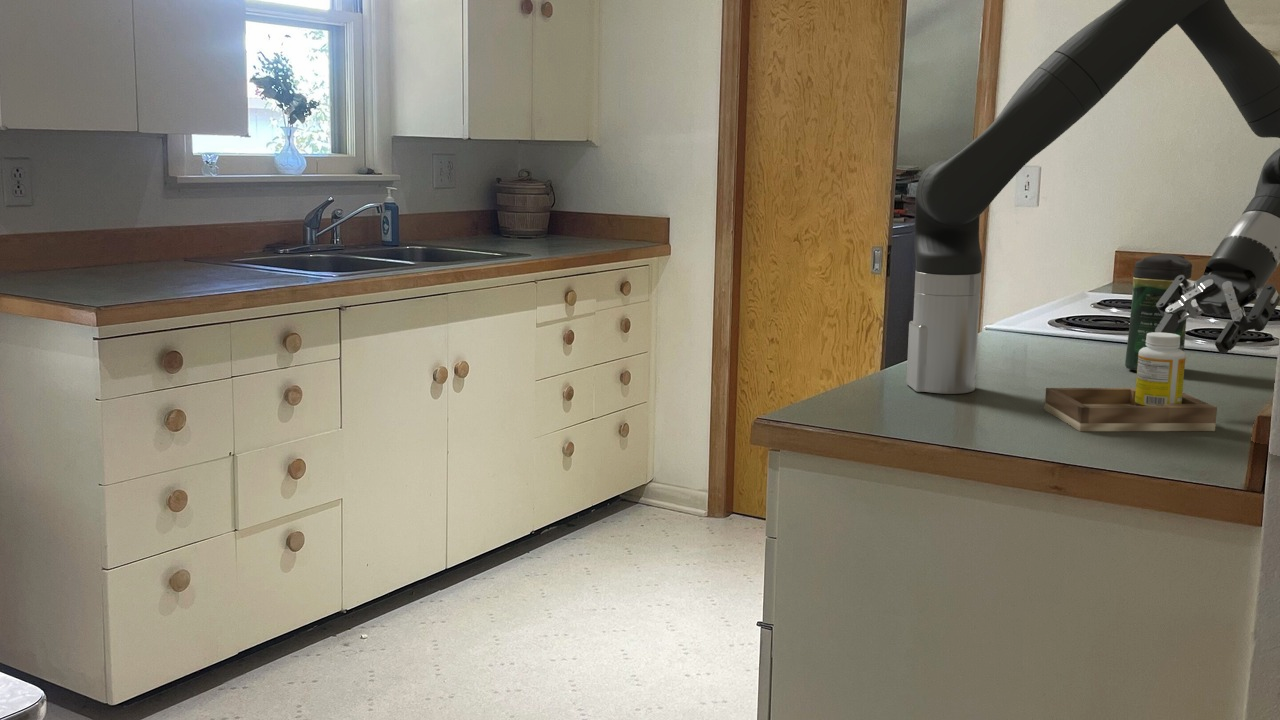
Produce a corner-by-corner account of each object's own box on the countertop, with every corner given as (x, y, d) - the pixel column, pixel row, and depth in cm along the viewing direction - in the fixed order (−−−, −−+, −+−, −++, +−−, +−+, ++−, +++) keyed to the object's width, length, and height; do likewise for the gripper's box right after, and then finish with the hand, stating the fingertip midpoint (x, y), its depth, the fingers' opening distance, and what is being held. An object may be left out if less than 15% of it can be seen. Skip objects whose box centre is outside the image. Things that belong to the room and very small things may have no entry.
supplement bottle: (1165, 406, 150) (1172, 330, 148) (1189, 416, 145) (1196, 337, 143) (1125, 407, 150) (1131, 331, 148) (1147, 417, 144) (1154, 338, 142)
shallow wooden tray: (1079, 431, 141) (1081, 407, 141) (1044, 409, 153) (1046, 388, 152) (1214, 430, 141) (1217, 407, 141) (1169, 409, 153) (1171, 387, 153)
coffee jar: (1172, 378, 175) (1182, 257, 171) (1119, 371, 180) (1128, 255, 176) (1188, 368, 182) (1199, 253, 179) (1137, 363, 187) (1146, 250, 184)
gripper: (1190, 230, 156) (1130, 319, 152) (1293, 237, 144) (1230, 333, 140) (1210, 267, 160) (1152, 354, 156) (1312, 276, 148) (1251, 371, 144)
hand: (1189, 344), depth 148 cm, fingers open, 8 cm apart
